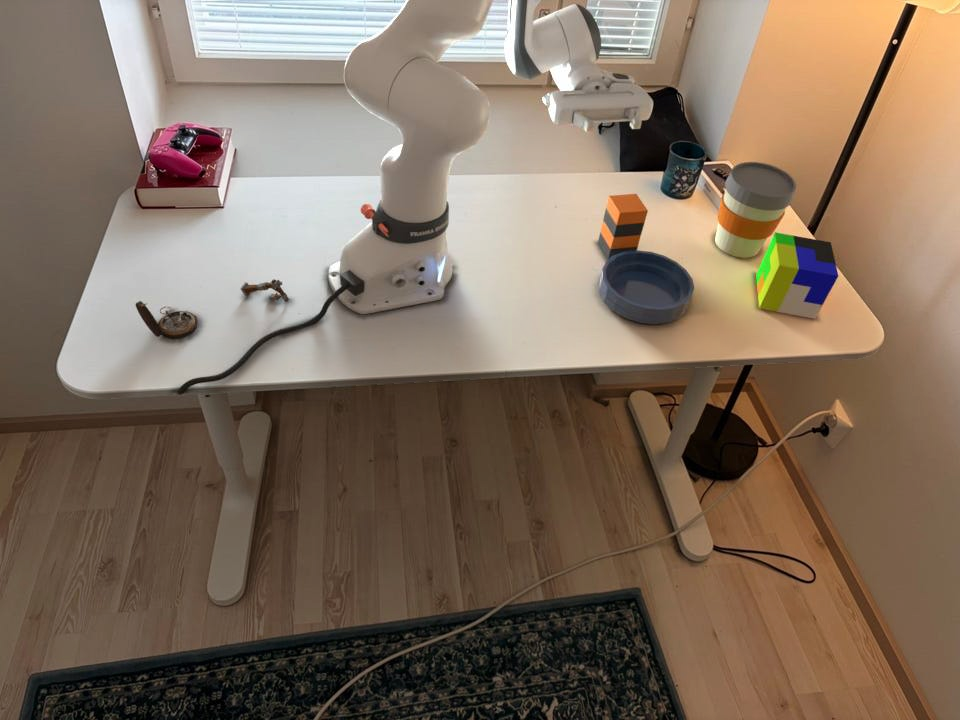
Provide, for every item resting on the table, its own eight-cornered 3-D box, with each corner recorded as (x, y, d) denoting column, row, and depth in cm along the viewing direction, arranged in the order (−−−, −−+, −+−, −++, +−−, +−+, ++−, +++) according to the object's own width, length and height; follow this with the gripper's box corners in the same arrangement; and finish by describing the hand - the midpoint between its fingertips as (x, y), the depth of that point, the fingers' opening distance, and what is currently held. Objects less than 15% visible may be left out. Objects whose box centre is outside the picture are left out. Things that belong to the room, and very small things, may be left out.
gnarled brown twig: (290, 303, 122) (276, 282, 119) (253, 308, 125) (239, 287, 123) (294, 296, 123) (281, 275, 121) (258, 301, 127) (244, 281, 124)
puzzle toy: (814, 318, 131) (838, 276, 124) (759, 308, 132) (779, 265, 124) (808, 284, 138) (830, 242, 130) (755, 275, 139) (774, 232, 131)
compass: (206, 329, 118) (196, 295, 112) (159, 350, 114) (147, 316, 108) (182, 303, 121) (172, 269, 116) (136, 323, 117) (123, 289, 112)
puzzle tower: (607, 260, 138) (619, 212, 130) (597, 243, 142) (608, 195, 134) (634, 258, 139) (648, 210, 132) (623, 240, 143) (636, 193, 135)
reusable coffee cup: (695, 244, 144) (718, 179, 133) (721, 218, 151) (745, 154, 141) (754, 271, 139) (783, 206, 128) (778, 243, 147) (807, 178, 136)
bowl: (638, 337, 124) (643, 320, 121) (580, 282, 133) (583, 265, 130) (706, 308, 131) (713, 291, 128) (646, 258, 140) (651, 241, 137)
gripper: (541, 79, 139) (564, 113, 130) (639, 75, 144) (667, 108, 135) (537, 109, 144) (559, 145, 135) (632, 105, 148) (659, 139, 139)
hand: (614, 126), depth 135 cm, fingers open, 8 cm apart
